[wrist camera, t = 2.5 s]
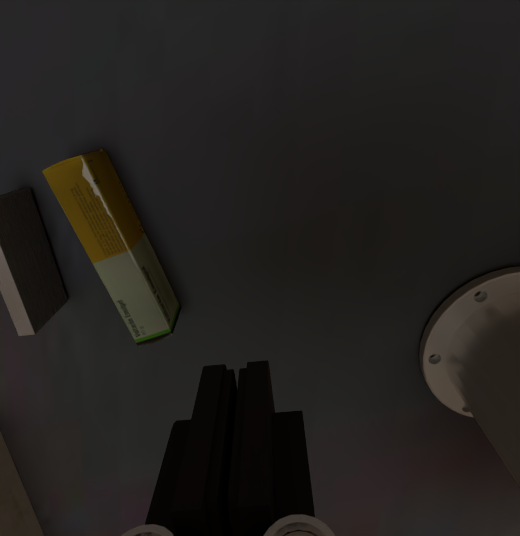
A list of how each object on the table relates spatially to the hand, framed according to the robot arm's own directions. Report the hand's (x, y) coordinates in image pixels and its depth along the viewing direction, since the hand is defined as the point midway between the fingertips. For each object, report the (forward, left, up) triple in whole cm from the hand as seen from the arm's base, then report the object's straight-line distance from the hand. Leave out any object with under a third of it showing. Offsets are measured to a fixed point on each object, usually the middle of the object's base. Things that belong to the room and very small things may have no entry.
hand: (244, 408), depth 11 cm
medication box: (+9, 0, -17) cm, 19 cm away
